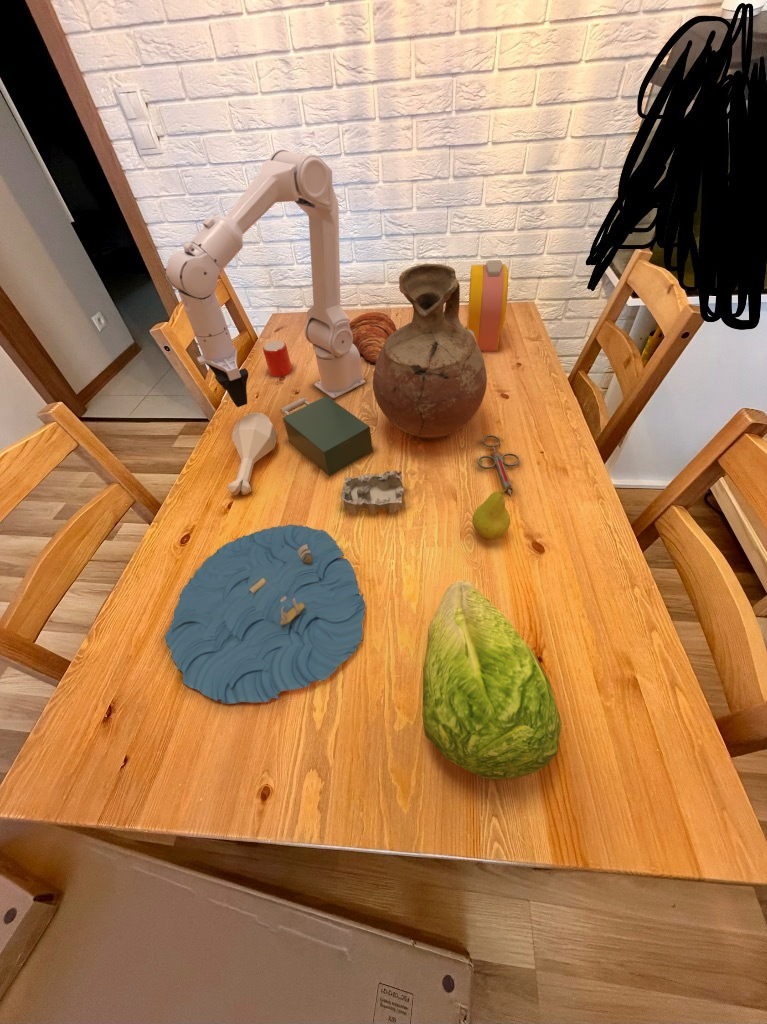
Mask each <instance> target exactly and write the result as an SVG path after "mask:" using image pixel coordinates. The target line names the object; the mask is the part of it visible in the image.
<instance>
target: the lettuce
mask: <svg viewBox="0 0 767 1024" xmlns="http://www.w3.org/2000/svg"><path fill="white" fill-rule="evenodd" d="M426 642H427V643H426V650H425V654H424V655H425V656H424V660H423V661H424V662H423V667H422V701H421V702H422V704H421V705H422V706H421V708H422V709H421V715H422V723H423V731H424V736H425V738H427V740H428V741H429V742H430V744H432V745H433V747H435V748H436V750H437V751H438V752H439V753H440V754H441V755H442V756H443V757H444V758H445V759H446V760H447V761H449V762H450V763H453V764H455V765H456V766H458V767H460V768H462V769H464V770H466V771H468V772H469V773H471V774H473V775H475V776H477V777H480V778H484V779H488V780H495V781H502V780H512V779H517V778H522V777H526V776H529V775H531V774H535V773H537V772H538V771H540V770H542V769H543V768H545V767H547V765H548V764H549V763H551V761H552V760H553V758H555V757H556V756H557V755H558V752H559V746H560V738H561V732H562V731H561V730H562V724H563V723H562V719H561V715H560V712H559V710H558V706H557V703H556V699H555V696H554V692H553V689H552V685H551V681H550V680H549V678H548V676H547V674H546V672H545V670H544V668H543V666H542V665H541V663H540V661H539V659H538V657H537V656H536V654H535V652H534V650H533V649H532V648H531V647H530V646H529V645H528V643H527V642H526V641H525V640H524V638H522V636H521V634H519V632H518V631H517V629H516V628H515V627H514V625H512V623H511V622H510V621H509V619H508V618H507V617H506V616H505V615H504V614H503V613H502V612H501V611H500V609H498V608H497V606H496V605H494V604H493V603H492V602H491V601H490V600H489V599H488V598H487V597H486V596H485V595H484V594H483V593H482V592H480V591H479V590H478V589H477V587H476V586H475V584H473V582H471V581H468V580H465V579H462V580H457V581H454V582H452V583H451V584H450V585H449V586H448V587H447V589H446V591H444V594H443V596H442V598H441V601H440V603H439V605H438V607H437V609H436V610H435V612H434V615H433V617H432V619H431V621H430V624H429V625H428V628H427V641H426Z"/></svg>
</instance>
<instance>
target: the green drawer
mask: <svg viewBox="0 0 767 1024" xmlns="http://www.w3.org/2000/svg"><path fill="white" fill-rule="evenodd" d="M309 404H311V402H309V401H308V399H307V397H305V396H303V397H301V398H299V399H297V400H295V401H293V402H291V403H289V404H287V405H284V406H283V407H281V408H279V411H280V413H281V415H283V416H284V415H285V416H287V415H289V414H291V413H290V412H292V411H294V410H296V409H299V408H301V407H303V406H304V405H305V406H307V405H309Z"/></svg>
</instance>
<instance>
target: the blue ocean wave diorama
mask: <svg viewBox="0 0 767 1024" xmlns="http://www.w3.org/2000/svg"><path fill="white" fill-rule="evenodd" d="M344 556H345V553H344V552H343V550H342V549H341V548H340V546H339V545H338V544H337V541H336V540H335V539H334V538H333V537H332V536H331V535H330V533H328V532H327V531H326V530H324V529H316V528H311V527H309V526H307V525H305V526H304V525H300V524H299V525H297V524H286V525H283V526H282V525H278V526H272V527H270V528H263V529H262V530H258V531H254V532H253V533H250V534H248V535H242V536H241V537H237V538H236V539H234V540H232V541H229V542H227V543H226V544H223V545H222V546H221V547H219V548H218V549H217V550H216V552H214V553H213V554H212V555H210V556H208V557H207V558H206V559H205V560H204V561H203V562H202V564H201V566H199V567H198V569H196V570H195V572H194V574H193V576H192V577H191V578H190V579H189V580H188V582H187V583H186V585H184V587H182V589H181V592H180V594H179V599H178V602H177V605H176V607H175V608H174V610H173V617H172V620H171V624H170V625H169V628H168V629H167V631H166V633H165V634H164V641H165V644H166V646H167V647H168V649H169V650H170V654H171V655H170V656H171V659H172V661H173V662H174V664H175V666H176V669H177V671H180V672H181V673H182V682H181V683H182V684H184V685H185V686H187V687H188V688H190V689H193V690H197V691H198V692H199V693H201V695H203V696H205V697H207V698H210V699H212V700H213V701H215V702H216V701H218V700H219V701H220V702H221V704H238V703H242V702H243V703H251V704H253V703H255V704H256V703H268V702H270V701H271V699H280V698H281V697H280V696H279V694H280V693H281V692H285V691H296V690H298V689H304V688H306V687H310V686H311V683H312V682H319V681H321V682H324V681H325V680H327V679H328V678H329V677H330V676H331V675H332V674H334V673H335V671H336V670H337V668H338V667H339V666H340V665H341V664H343V663H344V662H345V661H347V660H348V659H350V657H351V656H352V655H353V654H354V653H355V652H357V650H358V649H359V644H361V643H362V642H363V641H364V638H363V634H364V628H363V623H364V619H365V615H366V610H365V609H366V601H365V600H364V593H362V594H360V593H361V590H360V588H359V587H360V586H359V584H358V583H359V582H358V580H357V575H356V572H355V570H354V567H353V566H352V564H351V562H350V561H349V560H348V558H343V557H344Z"/></svg>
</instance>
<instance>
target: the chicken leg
mask: <svg viewBox="0 0 767 1024" xmlns="http://www.w3.org/2000/svg"><path fill="white" fill-rule="evenodd" d="M231 439H232V442H233V444H234V447H235V449H236V451H237V453H238V455H239V457H240V464H239V467H238V472H237V474H236V478H235V480H233V481H231V482H230V483H228V484H227V490H228V491H229V492H230V494H232V495H234V496H237V495H238V494H239V493H240V492H241V495H248V494H250V493H251V492H252V486H251V485H250V480H251V477H252V472H253V469H254V465H255V463H257V462H258V461H259V460H260V459H262V458H263V457H265V456H266V455H268V453H270V452H271V451H273V449H275V448H276V443H277V439H278V434H277V432H276V429H275V427H274V424H273V423H272V421H271V419H270V418H269V417H268V416H267V415H265V414H264V413H262V412H259V411H258V412H257V411H255V412H254V411H253V412H250V413H248V414H245V415H244V416H242V417H240V419H238V421H237V422H236V423H235V424H234V426H233V430H232V433H231Z"/></svg>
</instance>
